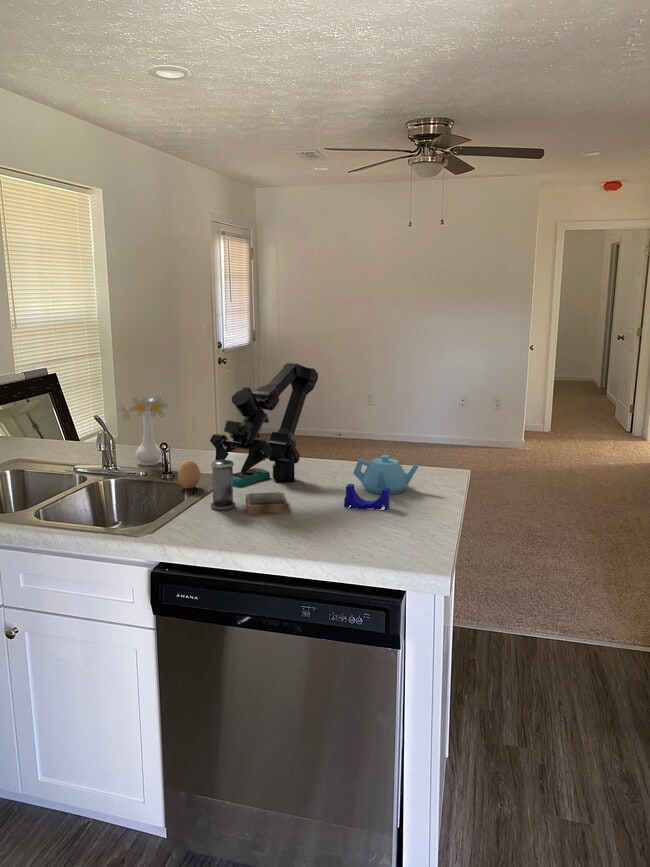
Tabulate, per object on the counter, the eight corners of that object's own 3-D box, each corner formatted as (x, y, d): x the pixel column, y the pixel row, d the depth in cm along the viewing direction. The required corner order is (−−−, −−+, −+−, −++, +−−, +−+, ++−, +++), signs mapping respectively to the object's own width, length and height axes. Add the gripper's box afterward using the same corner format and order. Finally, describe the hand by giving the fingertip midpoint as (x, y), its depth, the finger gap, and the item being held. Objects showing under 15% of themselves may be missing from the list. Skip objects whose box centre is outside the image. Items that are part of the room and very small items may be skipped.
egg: (176, 486, 208) (175, 458, 206) (198, 484, 210) (197, 456, 209) (180, 492, 202) (179, 463, 200) (202, 490, 204) (201, 461, 202)
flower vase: (114, 466, 230) (111, 394, 225) (156, 456, 245) (153, 388, 239) (140, 472, 223) (136, 398, 217) (181, 461, 237) (179, 392, 232)
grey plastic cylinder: (235, 503, 192) (234, 459, 190) (235, 510, 186) (235, 465, 183) (211, 503, 191) (210, 459, 188) (210, 511, 185) (209, 466, 182)
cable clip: (344, 508, 190) (344, 487, 188) (348, 503, 194) (348, 483, 193) (385, 513, 186) (386, 492, 185) (389, 508, 190) (389, 487, 189)
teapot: (388, 479, 219) (389, 447, 216) (419, 491, 206) (420, 457, 204) (350, 486, 210) (351, 453, 208) (380, 499, 198) (381, 463, 196)
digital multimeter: (271, 479, 219) (271, 470, 218) (238, 488, 208) (238, 479, 207) (256, 475, 224) (255, 466, 223) (222, 484, 213) (222, 475, 212)
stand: (283, 501, 195) (283, 491, 194) (287, 513, 184) (287, 502, 183) (245, 502, 193) (245, 492, 192) (247, 514, 182) (247, 504, 182)
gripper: (213, 406, 194) (189, 450, 187) (266, 412, 186) (243, 459, 178) (229, 428, 203) (207, 471, 195) (281, 435, 194) (260, 481, 187)
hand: (228, 470), depth 189 cm, fingers open, 9 cm apart
